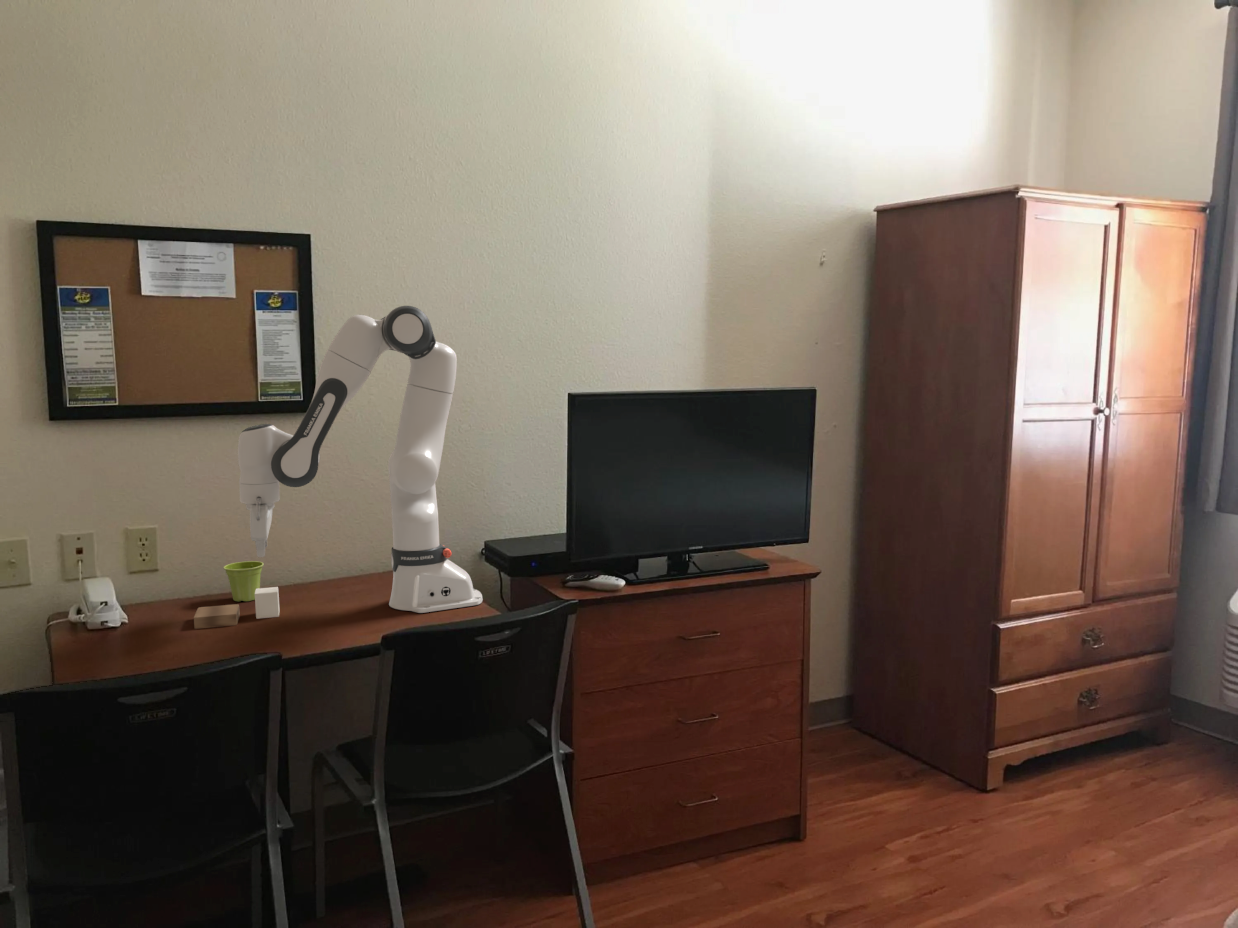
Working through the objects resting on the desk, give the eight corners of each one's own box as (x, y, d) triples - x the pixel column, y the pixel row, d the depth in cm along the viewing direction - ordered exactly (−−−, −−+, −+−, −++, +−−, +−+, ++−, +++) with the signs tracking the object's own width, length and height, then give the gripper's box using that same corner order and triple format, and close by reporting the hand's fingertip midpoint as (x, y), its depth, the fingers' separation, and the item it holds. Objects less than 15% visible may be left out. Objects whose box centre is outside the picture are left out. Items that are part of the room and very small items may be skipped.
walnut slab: (239, 616, 241) (238, 603, 241) (236, 626, 233) (236, 613, 232) (199, 619, 239) (198, 607, 238) (194, 630, 230) (193, 617, 230)
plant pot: (218, 599, 255) (216, 565, 253) (253, 592, 262) (251, 559, 260) (238, 606, 249) (235, 571, 247) (273, 597, 256) (270, 564, 254)
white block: (279, 611, 244) (278, 586, 243) (278, 616, 239) (277, 591, 238) (257, 613, 242) (255, 588, 241) (256, 618, 238) (254, 593, 237)
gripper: (272, 500, 228) (274, 561, 229) (275, 487, 247) (278, 542, 249) (242, 501, 226) (244, 562, 228) (248, 488, 245) (250, 544, 247)
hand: (262, 552), depth 238 cm, fingers open, 8 cm apart
